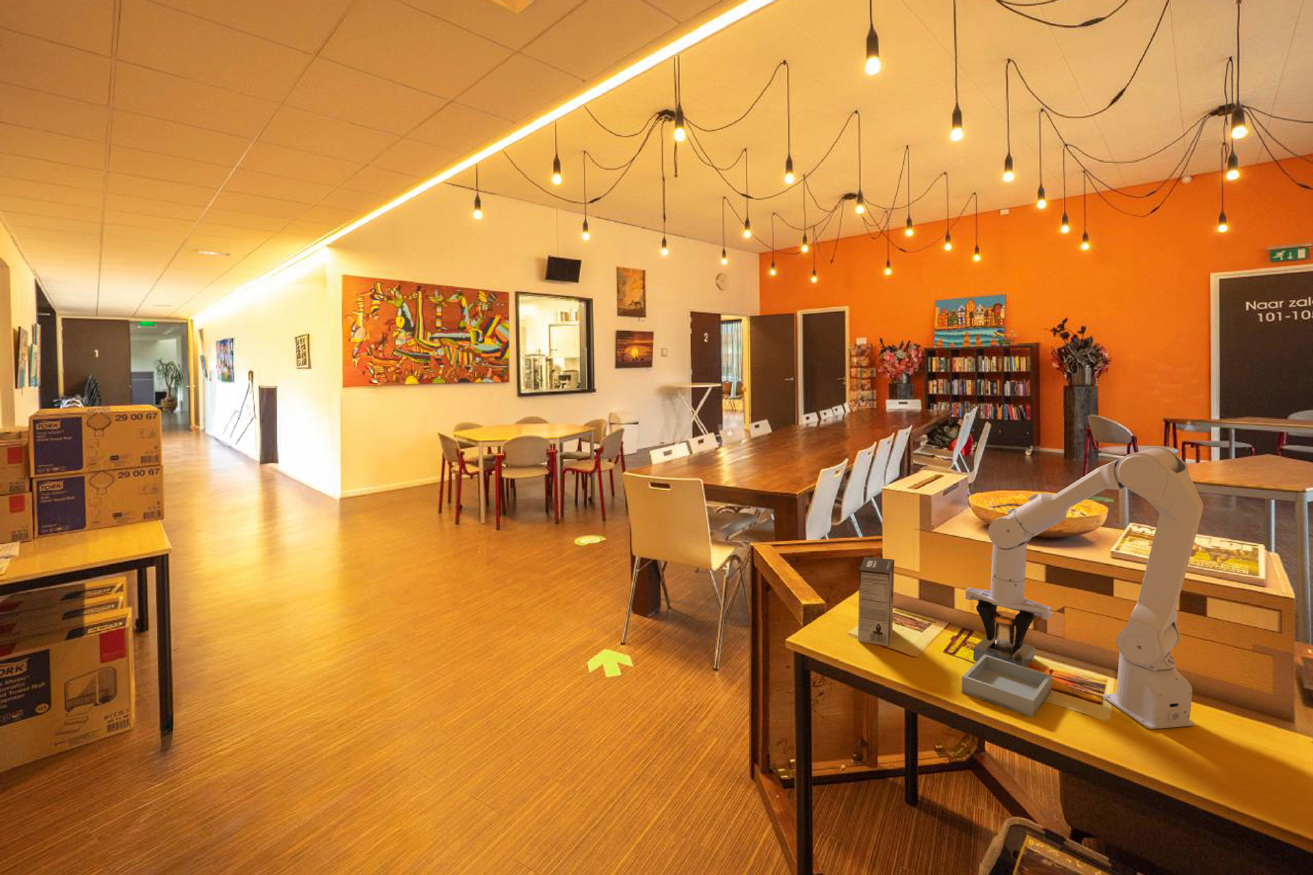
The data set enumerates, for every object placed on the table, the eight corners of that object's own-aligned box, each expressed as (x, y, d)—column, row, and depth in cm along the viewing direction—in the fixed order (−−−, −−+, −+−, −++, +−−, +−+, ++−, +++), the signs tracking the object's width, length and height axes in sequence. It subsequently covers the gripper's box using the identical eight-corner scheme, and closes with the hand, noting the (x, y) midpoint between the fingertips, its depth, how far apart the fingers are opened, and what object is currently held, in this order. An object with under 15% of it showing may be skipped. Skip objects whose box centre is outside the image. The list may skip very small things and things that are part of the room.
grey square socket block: (1034, 658, 120) (1034, 646, 120) (1020, 674, 115) (1021, 662, 114) (987, 644, 126) (988, 633, 126) (973, 659, 121) (973, 647, 120)
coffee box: (862, 624, 138) (864, 555, 135) (893, 628, 135) (895, 558, 133) (857, 641, 129) (858, 568, 127) (889, 647, 127) (891, 572, 124)
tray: (1051, 690, 109) (1052, 675, 109) (1032, 717, 101) (1033, 700, 101) (983, 668, 117) (984, 654, 117) (961, 692, 109) (962, 676, 109)
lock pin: (1022, 664, 118) (1025, 620, 117) (999, 665, 118) (1002, 621, 117) (1007, 652, 123) (1009, 610, 122) (985, 654, 123) (987, 611, 121)
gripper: (1057, 580, 116) (1052, 647, 118) (975, 562, 126) (972, 625, 128) (1046, 590, 111) (1042, 660, 113) (962, 571, 121) (959, 636, 123)
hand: (1004, 642), depth 120 cm, fingers closed on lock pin, 4 cm apart
